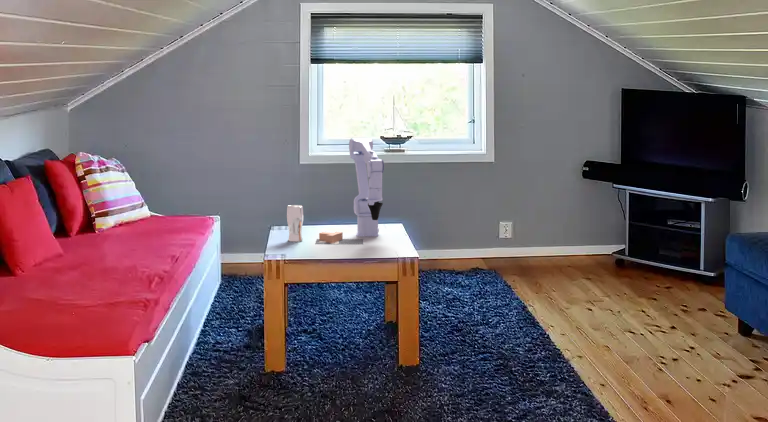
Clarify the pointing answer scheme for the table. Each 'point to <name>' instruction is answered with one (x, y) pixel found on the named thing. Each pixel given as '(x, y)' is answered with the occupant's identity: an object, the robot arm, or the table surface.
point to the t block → (331, 236)
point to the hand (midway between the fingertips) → (375, 219)
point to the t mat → (341, 241)
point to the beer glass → (295, 222)
